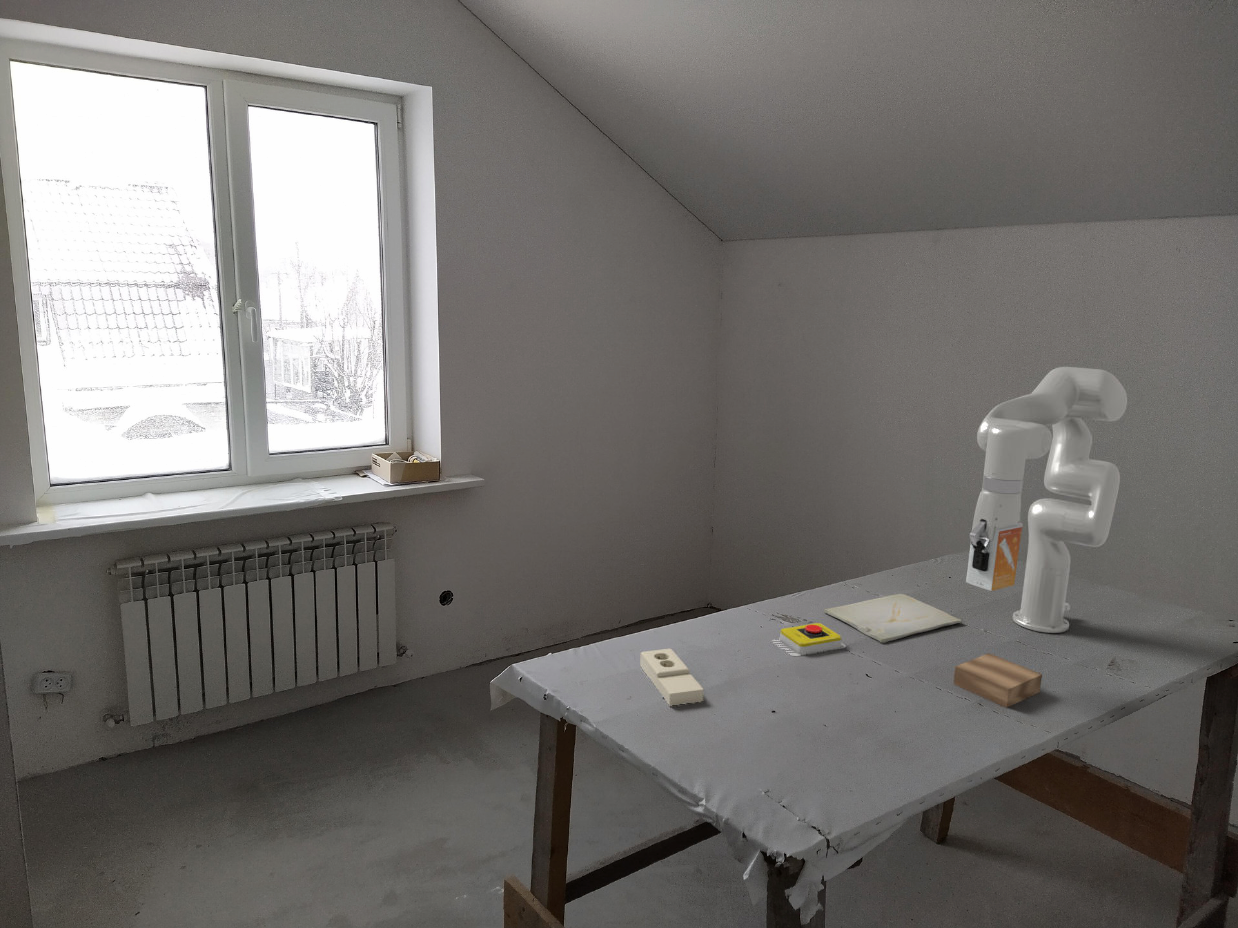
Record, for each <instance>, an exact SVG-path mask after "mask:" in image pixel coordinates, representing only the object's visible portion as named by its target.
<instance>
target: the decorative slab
mask: <svg viewBox="0 0 1238 928" xmlns="http://www.w3.org/2000/svg"><path fill="white" fill-rule="evenodd" d="M823 612H824V613H825V614H828V615H829V616H832V617H833V618H836V619H838V620H839V621H842V622H844V623H846V624H848V625H849V626H851V627H853V628H855V629H856V630H857V631H858V632H860V633H862V634H863V635H866V636H867V637H870V638H872V639H874V640H876V641H878V642H879V643H881V644H886V643H888V642H891V641H895V640H899V639H902V638H905V637H908V636H911V635H914V634H919V633H923V632H924V633H925V632H929V631H933V630H936V629H940V628H942V627H945V626H952V625H955V624H962V623H963V620H962V619H960V618H958V617H955V616H953V615H951V614H949V613H947V612H945V611H943V610H941V609H938V608H936V607H935V606H932V605H930V604H927V603H924V602H923V601H921V600H918V599H916V598H914V597H912V596H909V595H907V594H904V593H898V594H891V595H887V596H882V597H878V598H873V599H867V600H863V601H858V602H854V603H851V604H844V605H841V606H840V605H839V606H834V607H830V608H829V607H828V608H825V609H823Z"/></svg>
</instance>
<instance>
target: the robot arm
mask: <svg viewBox="0 0 1238 928" xmlns="http://www.w3.org/2000/svg"><path fill="white" fill-rule="evenodd" d="M1127 406H1128V395H1127V391H1126V389H1125V388H1124V386H1123V385H1122V384H1121V382H1120V381H1119V380H1118V378H1117V377H1116V376H1115V375H1113V373H1111V372H1109V371H1107V370H1105V369H1101V368H1100V369H1099V368H1087V367H1078V366H1077V367H1075V366H1059V367H1056V368H1054V369H1052V370H1050V371H1049V372H1048V373H1047V374H1046V375H1045V376H1044V378H1042V380H1041V381H1040V383H1039V384H1038V385H1037V386H1036V387H1035V388H1034V389H1033V390H1032V392H1031V393H1029V394H1025V395H1021V396H1019V397H1016V398H1015V397H1014V398H1013V399H1009V400H1006V401H1003V402H1001V403H999V404H997V405H996V406H994V407H993V408H992V409H991V410H990V411H989V413H988V414H987V415H986V416H985V417H984V419H983V420H982V421H981V423H980V424H979V426H978V430H977V435H976V440H977V444H978V446H979V448H980V449H981V450H982V451H985V458H984V467H983V476H982V485H981V491H980V492H979V496H978V498H977V500H976V506H975V510H974V515H973V521H972V527H971V528H972V529H971V532H970V533H969V534H968V536H969V539H970V544H972V546H973V547H972V549H973V550H974V554H973V563H972V567H973V568H975V569H978V570H981V571H984V572H985V571H987V568H988V560H989V553H987V551H988V549H989V547H990V541H993V540H994V535H995V531H996V530H1001V529H1006V528H1010V527H1014V526H1021V527H1022V528H1023V526H1024V524H1023V523H1022V521H1021V509H1022V494H1023V493H1022V491H1023V484H1024V476H1025V475H1024V474H1025V467H1026V462H1027V461H1026V460H1036V459H1040V458H1042V457H1044V456H1045V455H1047V453H1048V452H1049V454H1048V458H1047V462H1046V466H1045V470H1044V471H1045V472H1044V476H1043V484H1044V488H1046V490H1048V491H1049V492H1051V493H1054V494H1057V495H1063V496H1068V497H1073V498H1079V499H1083V500H1089V501H1090V502H1091V505H1090V504H1084V503H1077V502H1073V501H1068V500H1062V499H1056V498H1049V497H1048V498H1040V499H1037V500H1035V501H1033V502H1032V504H1030V506H1029V509H1028V513H1027V523H1028V525H1027V527H1028V544H1027V556H1026V562H1025V563H1026V564H1025V571H1024V578H1023V579H1024V581H1023V587H1022V595H1021V596H1022V597H1021V603H1020V610H1015V612H1013V614H1012V620H1013V622H1015V623H1016V624H1017V625H1019V626H1021V627H1023V628H1025V629H1027V630H1030V631H1034V632H1040V633H1046V634H1050V633H1051V634H1060V633H1065V632H1066V631H1068V630H1069V628H1070V623H1069V620H1067V619H1066V618H1065V617H1064V614H1065V612H1067V611H1069V610H1070V609H1071V605H1070V604H1069V603H1068V602H1066V598H1067V590H1068V584H1069V576H1070V569H1071V560H1072V558H1071V554H1070V552H1069V549H1068V548H1067V546H1066V544H1065V543H1070V544H1075V545H1080V546H1085V547H1090V548H1091V547H1093V548H1098V547H1100V546H1102V545H1103V544H1105V542H1106V541H1107V538H1108V536H1109V534H1110V529H1111V524H1112V521H1113V517H1114V511H1115V508H1116V503H1117V498H1118V493H1119V490H1120V483H1121V481H1120V480H1121V475H1120V471H1119V468H1118V467H1117V466H1116V464H1114V463H1113V462H1109V461H1106V460H1098V459H1092V458H1091V459H1090V454H1091V449H1092V444H1093V435H1092V433H1091V431H1090V429H1089V427H1088V426H1087V424H1086V423H1085V421H1084V420H1083V419H1086V420H1092V421H1093V420H1095V421H1101V422H1102V421H1103V422H1116V421H1118V420H1119V419H1121V417H1123V416H1124V414H1125V412H1126V410H1127ZM1050 426H1052V427H1051V428H1052V432H1051V430H1050V429H1049V428H1048V427H1050ZM985 529H986V532H987V535H988V538H987V537H983V536H981V533H982V532H983V531H984V530H985ZM981 540H985V541H986V543H985V545H983V544H982V542H981ZM1103 546H1104V545H1103Z"/></svg>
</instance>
